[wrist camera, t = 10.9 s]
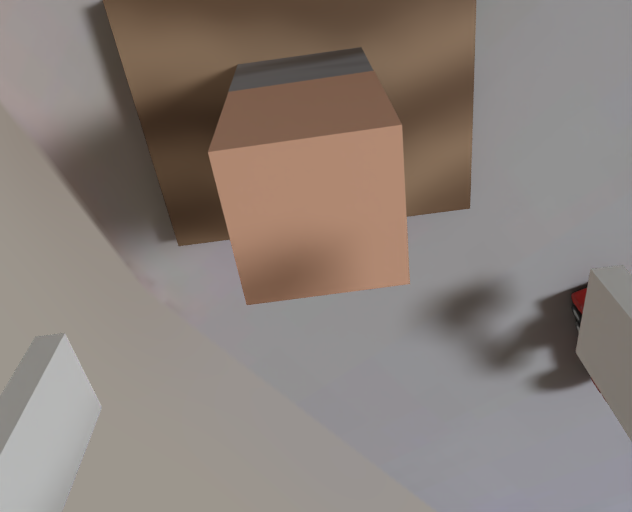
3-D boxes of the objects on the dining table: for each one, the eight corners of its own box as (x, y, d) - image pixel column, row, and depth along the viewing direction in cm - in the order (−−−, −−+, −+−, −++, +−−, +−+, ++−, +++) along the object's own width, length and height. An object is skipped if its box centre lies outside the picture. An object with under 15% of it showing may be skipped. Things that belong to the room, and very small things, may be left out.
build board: (111, -4, 27) (66, 18, 22) (469, -57, 27) (514, -48, 21) (182, 233, 35) (162, 294, 29) (463, 197, 34) (496, 252, 29)
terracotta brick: (228, 91, 24) (207, 152, 18) (374, 70, 24) (402, 124, 18) (256, 219, 27) (246, 305, 21) (383, 201, 27) (409, 283, 21)
